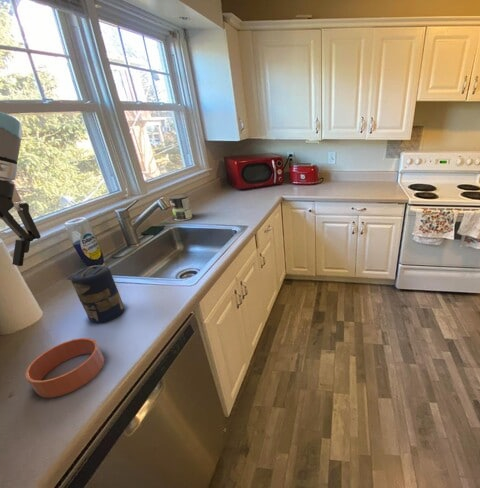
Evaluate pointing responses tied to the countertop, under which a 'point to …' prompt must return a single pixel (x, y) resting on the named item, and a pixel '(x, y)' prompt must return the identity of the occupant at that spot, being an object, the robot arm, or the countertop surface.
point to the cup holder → (71, 378)
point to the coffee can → (180, 207)
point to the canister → (98, 293)
